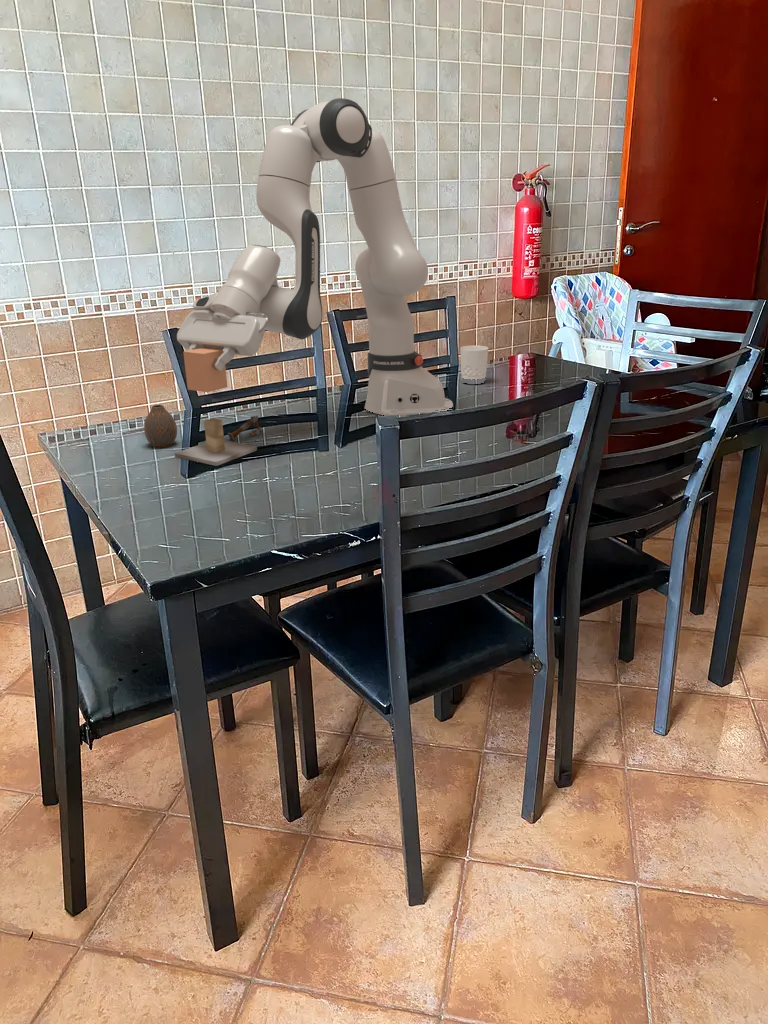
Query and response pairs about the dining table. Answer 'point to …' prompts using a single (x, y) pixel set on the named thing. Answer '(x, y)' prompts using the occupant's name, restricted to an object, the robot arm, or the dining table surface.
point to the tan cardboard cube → (204, 370)
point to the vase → (160, 427)
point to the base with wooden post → (215, 446)
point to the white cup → (474, 362)
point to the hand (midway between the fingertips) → (203, 367)
